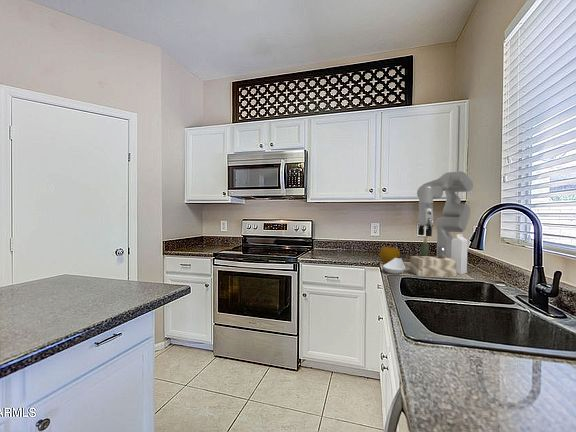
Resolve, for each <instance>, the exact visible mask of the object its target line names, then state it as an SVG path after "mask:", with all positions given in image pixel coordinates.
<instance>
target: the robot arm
mask: <svg viewBox="0 0 576 432" xmlns="http://www.w3.org/2000/svg"><path fill="white" fill-rule="evenodd" d="M473 186H474V184H473V180H472V179H471V178H470V176H468V174H467V173H466V172H464V171H448V172H445V173H443V174H442V175H441V176H439V178H437V179H433V180H431V181H428V182H425V183H423V184H422V185H420V186H419V187H418V189H417V192H416V194H417V195H416V196H417V198H418V210H419V211H418V220H417V226H418V228H417V229H418V230H417V231H418V233H417V235H418V236H424V235H425V236H426V237H432V235H433V227H434V200H437V199H441V198H442V197H443V195H444V192H445V197H446V200H445V204H444V206H443V208H442V209H443V210H442V216H440V217H438V218H436V221H435V226H436V257H438V247H446V257H448V258H451V243H452V239H454V236H453V234H452V233H463V232H465V231H466V229H467V227H468V223H469V220H470V216H471V208H470V206H469V204H466V203H462V202H461V201H462V199H461V197H460V196H459V195H458V194H457V193H464V192H465V193H467V192H470V191H472V190H473V188H474V187H473ZM425 227H426V229H425ZM451 232H452V233H451Z"/></svg>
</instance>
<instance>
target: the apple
mask: <svg viewBox="0 0 576 432" xmlns="http://www.w3.org/2000/svg"><path fill="white" fill-rule="evenodd" d="M378 255H379V258H380V260H381V262H382V263H383V265H384V264H386V263H388V262H390V261H391V260H393V259H394V258H399V259H400V257H401V251H400V250H399V249H398V248H397V247H394V246H383V247H381V248H380V249H379V254H378Z"/></svg>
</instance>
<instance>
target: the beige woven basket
mask: <svg viewBox="0 0 576 432" xmlns="http://www.w3.org/2000/svg"><path fill="white" fill-rule="evenodd" d="M409 256H410V255H409ZM409 266H410V267H409V272H410V273H411V274H414V275H415V274H416V275H415V276H417V277H443V276H456V277H457V273H456V260H455V259H452V258H448V257H446V247H438V257H437V256H431V255H430V256H421V255H420V256H419V255H411V256H410V262H409Z"/></svg>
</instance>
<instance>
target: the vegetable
mask: <svg viewBox="0 0 576 432" xmlns="http://www.w3.org/2000/svg"><path fill="white" fill-rule="evenodd" d="M427 237H428V236H426V235H425V237H424V240H423V242H422V243H421V245H420V256H428V255H429V250H430V246H429V244H428V238H427Z"/></svg>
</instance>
